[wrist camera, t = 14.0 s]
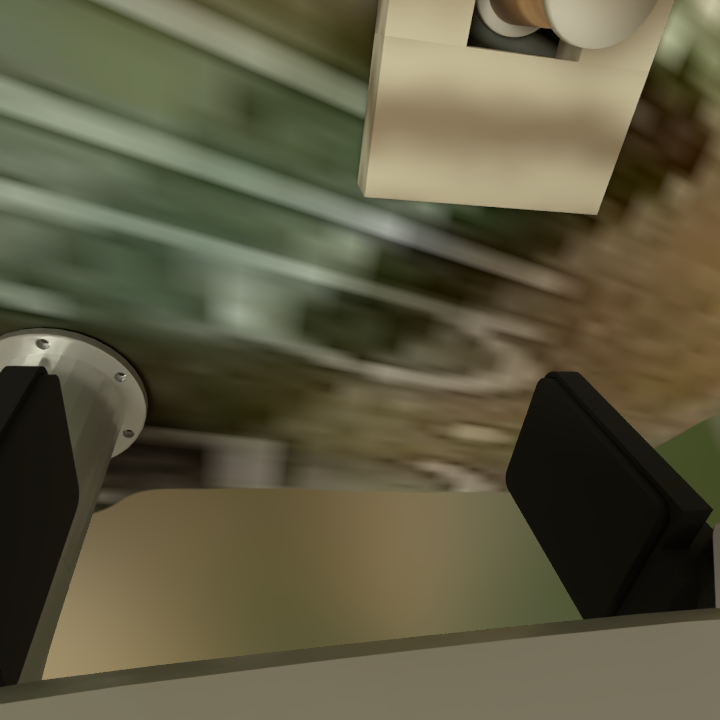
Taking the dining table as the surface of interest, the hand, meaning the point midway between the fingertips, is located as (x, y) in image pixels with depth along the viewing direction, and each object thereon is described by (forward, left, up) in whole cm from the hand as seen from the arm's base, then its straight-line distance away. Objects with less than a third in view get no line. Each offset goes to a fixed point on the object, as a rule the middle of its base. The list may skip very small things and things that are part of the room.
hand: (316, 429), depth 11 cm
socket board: (+7, -13, -28) cm, 31 cm away
